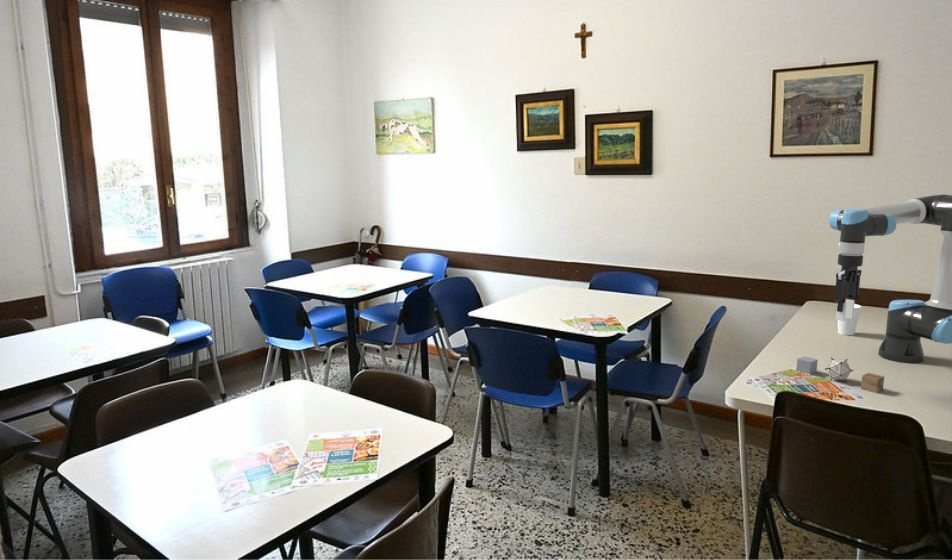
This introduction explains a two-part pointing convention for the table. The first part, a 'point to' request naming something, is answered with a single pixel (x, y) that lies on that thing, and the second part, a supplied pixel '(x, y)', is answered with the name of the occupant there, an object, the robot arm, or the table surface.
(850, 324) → the foam cup
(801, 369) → the grey block
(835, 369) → the white icosahedron
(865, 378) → the walnut block
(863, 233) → the robot arm
